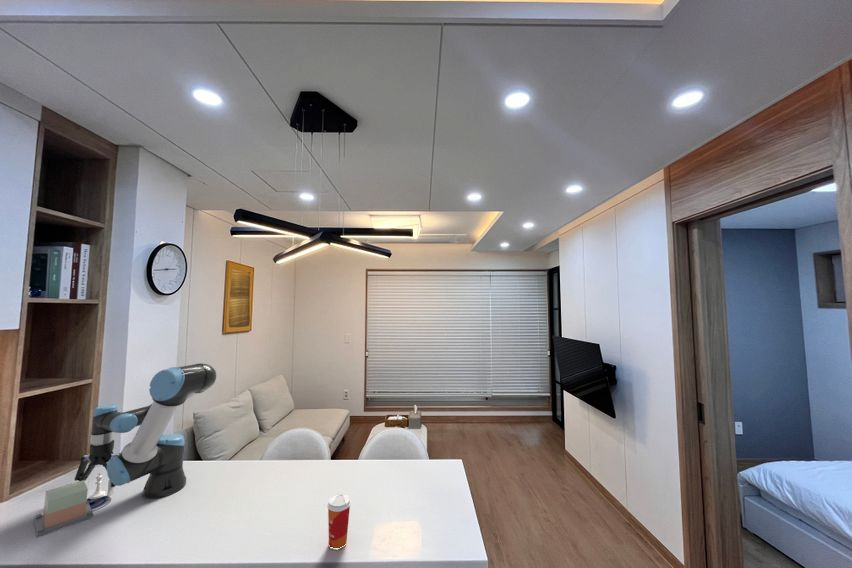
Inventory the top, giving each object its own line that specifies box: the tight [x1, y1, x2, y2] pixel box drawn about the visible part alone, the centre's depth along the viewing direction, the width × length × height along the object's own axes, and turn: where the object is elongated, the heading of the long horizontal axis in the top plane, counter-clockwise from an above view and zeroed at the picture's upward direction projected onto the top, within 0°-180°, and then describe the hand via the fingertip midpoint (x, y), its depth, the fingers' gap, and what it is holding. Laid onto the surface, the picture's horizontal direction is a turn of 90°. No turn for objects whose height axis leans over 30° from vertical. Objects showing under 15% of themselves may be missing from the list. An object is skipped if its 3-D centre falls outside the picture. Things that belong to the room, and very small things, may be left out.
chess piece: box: [89, 471, 106, 500], centre depth 138 cm, size 5×5×10 cm
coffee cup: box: [326, 494, 352, 548], centre depth 113 cm, size 8×8×15 cm
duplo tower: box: [33, 480, 94, 538], centre depth 123 cm, size 14×14×11 cm
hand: (97, 495), depth 138 cm, fingers open, 9 cm apart
